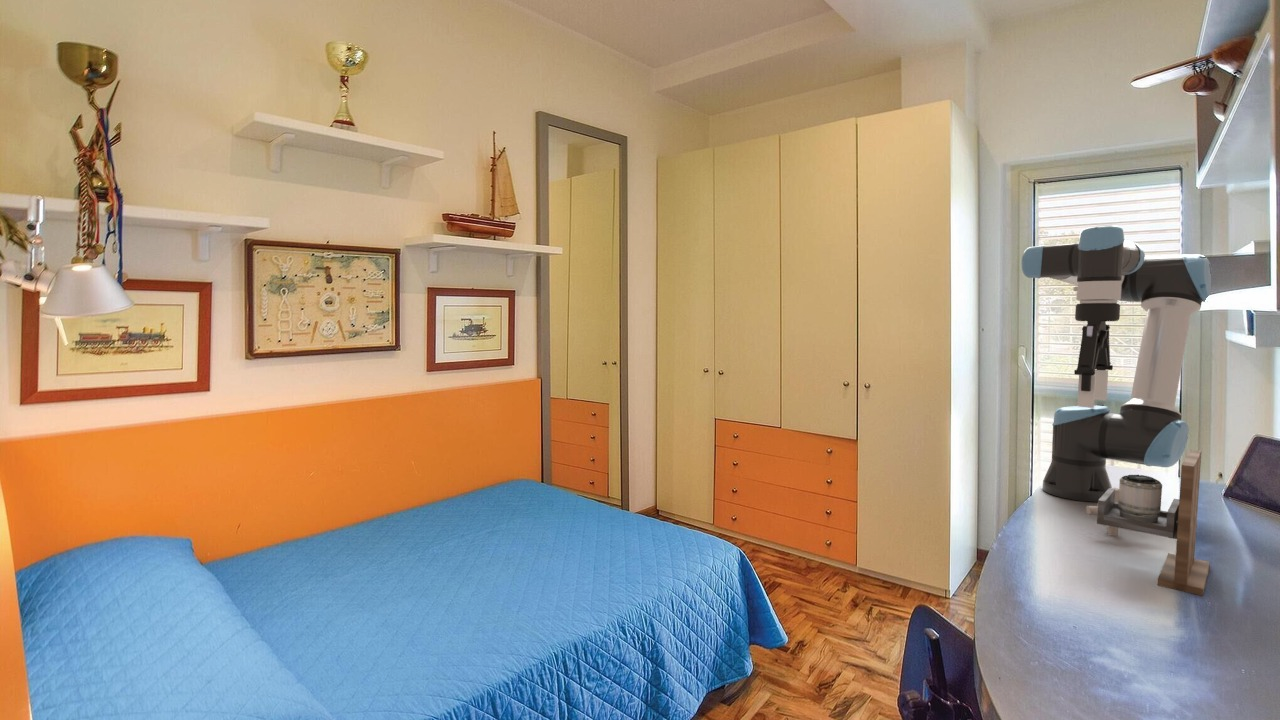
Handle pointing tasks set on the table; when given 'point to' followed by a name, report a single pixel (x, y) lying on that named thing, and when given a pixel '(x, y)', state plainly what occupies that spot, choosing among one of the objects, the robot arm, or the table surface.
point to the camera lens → (1140, 498)
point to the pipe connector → (1094, 511)
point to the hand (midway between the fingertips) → (1092, 403)
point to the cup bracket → (1170, 529)
